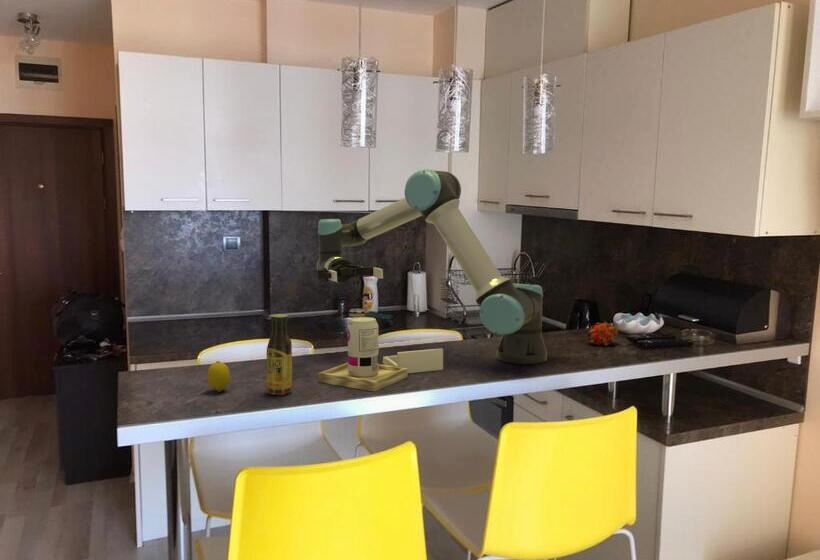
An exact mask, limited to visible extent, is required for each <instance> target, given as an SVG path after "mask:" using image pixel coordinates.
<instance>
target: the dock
mask: <svg viewBox="0 0 820 560" xmlns="http://www.w3.org/2000/svg"><path fill="white" fill-rule="evenodd" d="M382 365H388V366H395V367H402V368H408V374H414V373H424V372H425V373H426V372H432V371H433V372H434V371H442V370H444V349H443V348H431V349H430V348H429V349H422V350H421V349H420V350H419V349H418V350H410V351H397V355H389V356H388V355H387V356H382Z"/></svg>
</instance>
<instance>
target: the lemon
mask: <svg viewBox="0 0 820 560" xmlns="http://www.w3.org/2000/svg"><path fill="white" fill-rule="evenodd" d="M206 376H207V377H206V379H207V384H208V385H209V387H210V388H212V389H213V390H215V391H217V392H218V393H221V392H222V390H223V389H226V388H227V387H228V385H229V384H230V379H231V372H230V369H229V367H228V366H227V365H226V364H225V363H224V362H221V361H220V360H217V361H216V362H214V363H212V364H211V365H210V366H209V367H208V370H207V374H206ZM220 391H221V392H220Z"/></svg>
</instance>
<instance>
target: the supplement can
mask: <svg viewBox="0 0 820 560" xmlns="http://www.w3.org/2000/svg"><path fill="white" fill-rule="evenodd" d="M379 350H380V349H379V324H378V322H377V319H376V318H375V317H370V316H369V317H368V316H357V317H352V318H351V317H350V319H349V321H348V324H347V363H348V373H350V374H351V375H352V376H354V377H371V376H375V375H376V374H377V373H378V372H379V364H380V363H379Z"/></svg>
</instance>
